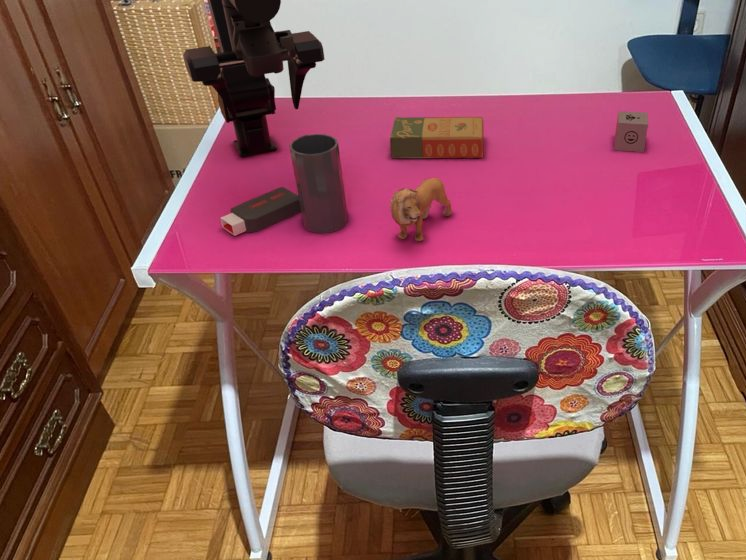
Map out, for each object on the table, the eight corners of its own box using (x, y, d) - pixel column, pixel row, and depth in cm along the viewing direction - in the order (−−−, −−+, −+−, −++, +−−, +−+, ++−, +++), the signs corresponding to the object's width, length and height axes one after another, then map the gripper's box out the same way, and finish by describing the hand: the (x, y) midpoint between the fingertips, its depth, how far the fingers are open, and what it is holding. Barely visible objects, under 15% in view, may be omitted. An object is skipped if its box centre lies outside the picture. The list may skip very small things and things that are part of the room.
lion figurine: (419, 257, 102) (415, 201, 96) (385, 250, 103) (379, 194, 98) (457, 207, 112) (457, 154, 106) (426, 201, 114) (423, 148, 108)
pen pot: (301, 213, 111) (287, 137, 103) (344, 207, 113) (334, 131, 104) (306, 236, 106) (292, 157, 98) (351, 229, 108) (341, 151, 100)
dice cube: (614, 137, 131) (618, 111, 127) (642, 139, 130) (647, 112, 127) (614, 150, 127) (618, 122, 124) (643, 151, 126) (648, 124, 123)
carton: (482, 159, 125) (483, 135, 122) (390, 159, 125) (388, 135, 122) (483, 137, 131) (483, 115, 128) (395, 137, 131) (393, 115, 128)
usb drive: (305, 209, 112) (302, 193, 110) (238, 239, 106) (234, 223, 104) (286, 198, 115) (282, 182, 113) (219, 226, 109) (215, 210, 107)
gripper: (183, 29, 89) (213, 148, 99) (328, 9, 95) (342, 122, 105) (169, 5, 97) (198, 118, 107) (304, -12, 103) (320, 95, 113)
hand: (266, 114), depth 108 cm, fingers open, 9 cm apart
